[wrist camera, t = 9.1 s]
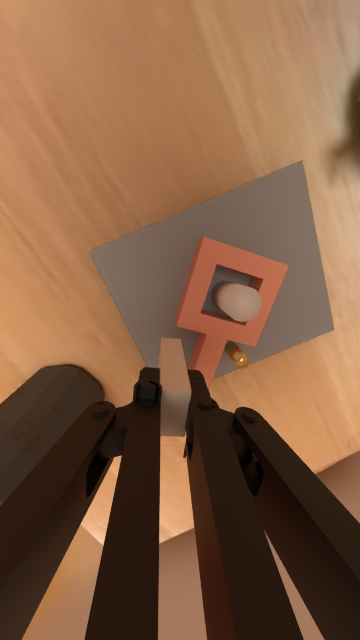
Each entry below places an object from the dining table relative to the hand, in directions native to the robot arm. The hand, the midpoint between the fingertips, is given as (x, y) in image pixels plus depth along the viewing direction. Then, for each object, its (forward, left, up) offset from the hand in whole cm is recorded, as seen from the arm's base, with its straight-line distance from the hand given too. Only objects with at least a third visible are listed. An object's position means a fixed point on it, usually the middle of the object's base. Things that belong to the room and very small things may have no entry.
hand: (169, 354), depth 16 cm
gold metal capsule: (-6, +6, -9) cm, 12 cm away
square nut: (-5, +2, -9) cm, 10 cm away
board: (-8, 0, -10) cm, 13 cm away
